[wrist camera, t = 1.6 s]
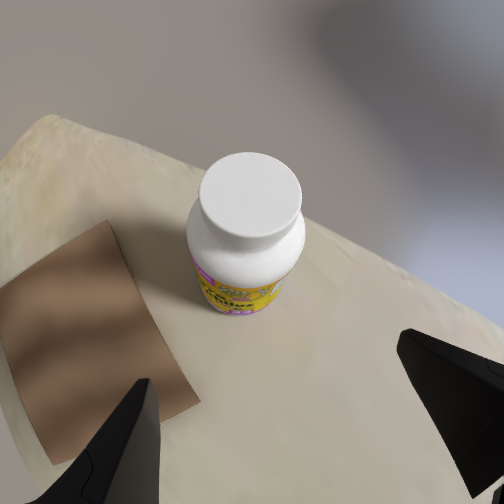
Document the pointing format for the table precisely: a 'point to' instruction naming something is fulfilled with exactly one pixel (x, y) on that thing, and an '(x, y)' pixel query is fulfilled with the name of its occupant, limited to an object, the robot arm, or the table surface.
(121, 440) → the robot arm
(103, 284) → the walnut board
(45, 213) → the table surface
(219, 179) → the supplement bottle
